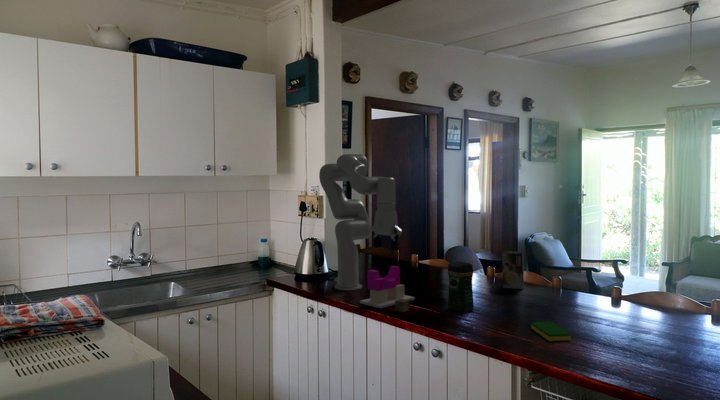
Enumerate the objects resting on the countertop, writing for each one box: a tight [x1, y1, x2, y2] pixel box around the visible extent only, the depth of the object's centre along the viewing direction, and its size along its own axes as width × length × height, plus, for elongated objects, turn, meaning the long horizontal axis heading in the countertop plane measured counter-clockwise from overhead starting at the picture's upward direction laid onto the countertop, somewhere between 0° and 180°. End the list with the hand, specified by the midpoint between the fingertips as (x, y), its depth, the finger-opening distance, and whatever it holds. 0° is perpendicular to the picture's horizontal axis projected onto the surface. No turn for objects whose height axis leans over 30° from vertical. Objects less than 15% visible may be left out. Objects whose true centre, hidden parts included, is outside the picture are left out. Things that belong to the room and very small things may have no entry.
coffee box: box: [501, 250, 525, 290], centre depth 237 cm, size 9×6×16 cm
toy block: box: [366, 265, 401, 291], centre depth 214 cm, size 15×6×8 cm, turn 132°
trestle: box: [359, 283, 416, 309], centre depth 214 cm, size 12×20×6 cm, turn 132°
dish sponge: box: [530, 321, 572, 342], centre depth 168 cm, size 7×14×2 cm, turn 5°
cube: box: [394, 299, 410, 313], centre depth 200 cm, size 4×4×4 cm
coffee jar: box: [447, 260, 474, 313], centre depth 200 cm, size 10×8×19 cm
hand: (386, 248), depth 214 cm, fingers open, 9 cm apart
